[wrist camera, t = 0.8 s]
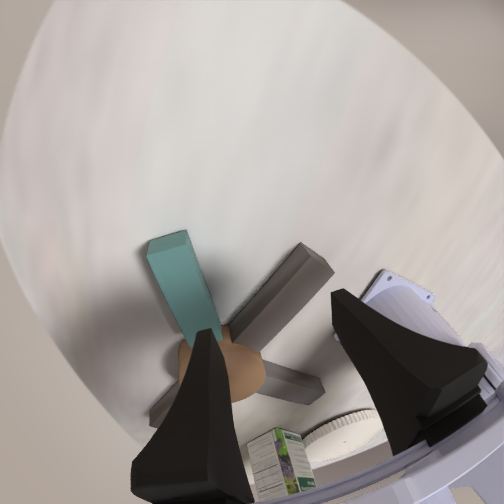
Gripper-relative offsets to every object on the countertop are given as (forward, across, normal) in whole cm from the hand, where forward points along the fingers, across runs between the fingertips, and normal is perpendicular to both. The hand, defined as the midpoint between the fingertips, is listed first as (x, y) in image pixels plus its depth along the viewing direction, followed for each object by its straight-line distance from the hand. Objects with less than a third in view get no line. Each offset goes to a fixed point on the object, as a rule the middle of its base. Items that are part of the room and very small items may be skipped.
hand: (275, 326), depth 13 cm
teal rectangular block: (+8, +5, +2) cm, 10 cm away
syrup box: (+9, +3, +31) cm, 32 cm away
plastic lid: (+9, -7, +36) cm, 38 cm away
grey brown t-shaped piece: (+8, +2, +13) cm, 16 cm away
